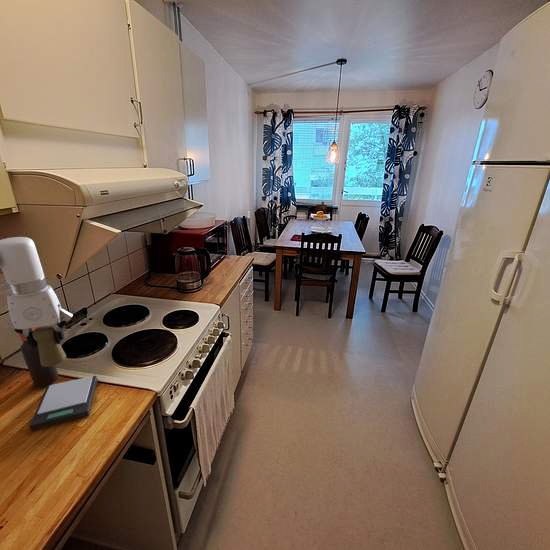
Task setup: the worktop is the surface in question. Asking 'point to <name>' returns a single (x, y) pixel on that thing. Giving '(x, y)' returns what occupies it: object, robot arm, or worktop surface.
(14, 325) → the robot arm
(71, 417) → the scale
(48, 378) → the bottle
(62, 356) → the cork
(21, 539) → the worktop surface
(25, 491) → the worktop surface
